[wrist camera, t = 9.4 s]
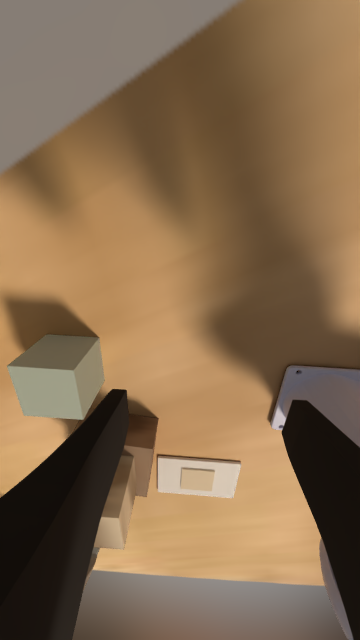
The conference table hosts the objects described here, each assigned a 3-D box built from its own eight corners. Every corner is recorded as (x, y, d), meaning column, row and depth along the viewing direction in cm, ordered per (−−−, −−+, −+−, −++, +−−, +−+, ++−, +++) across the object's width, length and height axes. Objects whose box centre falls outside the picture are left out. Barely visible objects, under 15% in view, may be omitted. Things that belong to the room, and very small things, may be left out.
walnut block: (158, 415, 25) (153, 449, 21) (152, 461, 28) (146, 497, 25) (87, 405, 25) (69, 437, 21) (89, 452, 28) (74, 486, 25)
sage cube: (99, 337, 21) (73, 370, 16) (104, 379, 23) (83, 419, 18) (46, 333, 21) (6, 365, 17) (57, 376, 23) (24, 415, 19)
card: (240, 461, 27) (241, 466, 27) (232, 495, 30) (233, 499, 29) (158, 455, 27) (157, 459, 27) (158, 489, 30) (157, 493, 30)
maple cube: (134, 456, 22) (118, 518, 17) (137, 487, 24) (124, 549, 20) (83, 453, 22) (55, 513, 18) (91, 483, 24) (67, 545, 20)
